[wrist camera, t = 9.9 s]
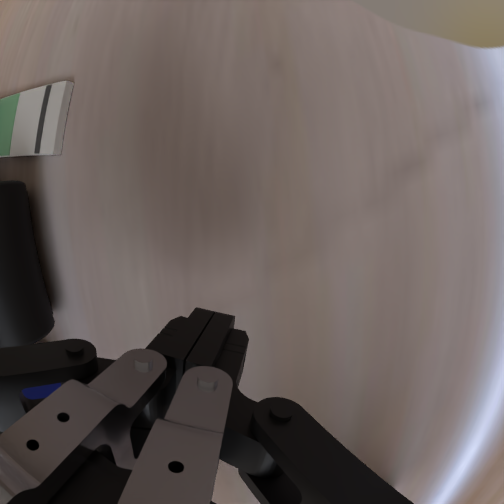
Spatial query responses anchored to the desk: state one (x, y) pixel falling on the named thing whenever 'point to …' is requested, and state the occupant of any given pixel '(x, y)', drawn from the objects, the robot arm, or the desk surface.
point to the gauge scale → (34, 120)
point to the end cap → (20, 273)
